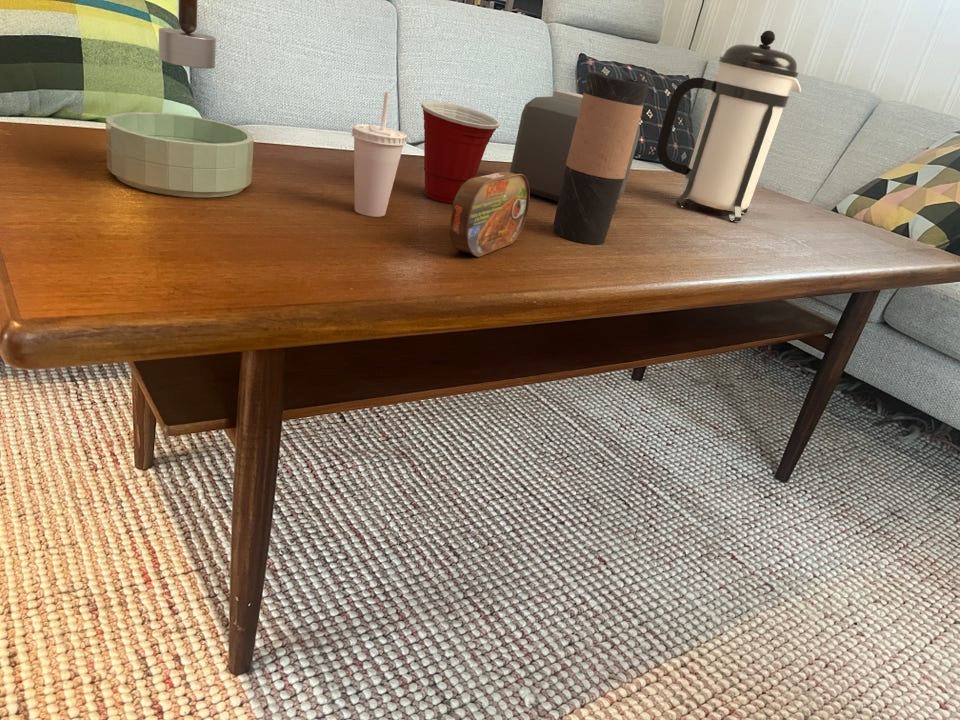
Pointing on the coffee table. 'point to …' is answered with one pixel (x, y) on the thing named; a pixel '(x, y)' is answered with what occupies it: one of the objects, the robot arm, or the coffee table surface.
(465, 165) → the plastic cup
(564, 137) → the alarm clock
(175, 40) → the wooden handle stamp
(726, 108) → the coffee press
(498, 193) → the tin
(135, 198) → the coffee table surface
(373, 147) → the smoothie
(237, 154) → the bowl
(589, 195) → the travel mug
